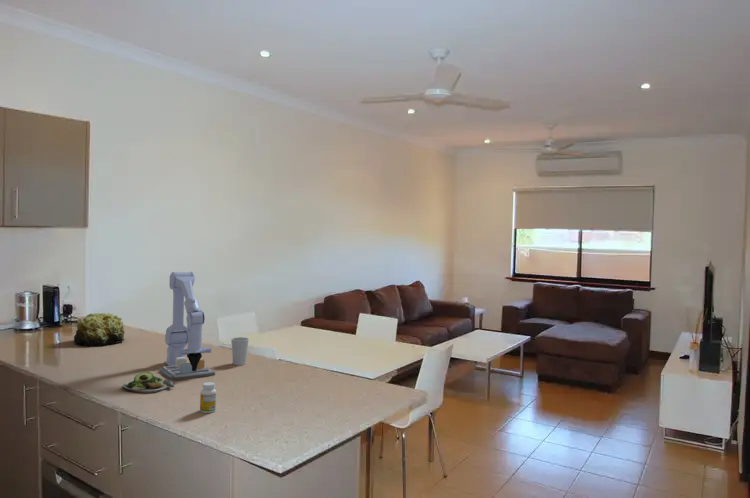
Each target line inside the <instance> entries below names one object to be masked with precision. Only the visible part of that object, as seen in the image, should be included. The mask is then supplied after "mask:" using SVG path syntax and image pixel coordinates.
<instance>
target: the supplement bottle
mask: <svg viewBox="0 0 750 498" xmlns="http://www.w3.org/2000/svg"><path fill="white" fill-rule="evenodd" d="M215 386H216V384H215V382H210V381H209V382H204V383H203V384H202V389H201V390H200V397H199V398H200V402H199V404H200V405H199V411H200V412H201V413H202V414H210V413H214V412H216V410H217V390H216V389H215Z"/></svg>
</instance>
